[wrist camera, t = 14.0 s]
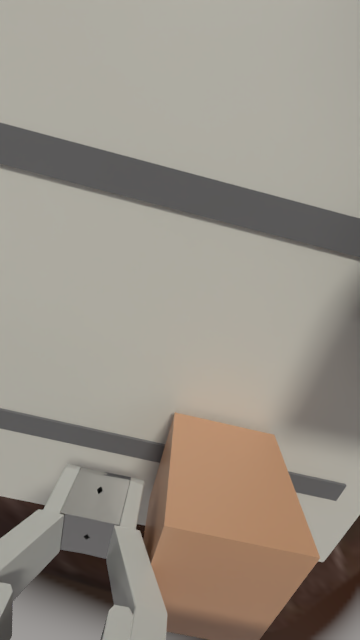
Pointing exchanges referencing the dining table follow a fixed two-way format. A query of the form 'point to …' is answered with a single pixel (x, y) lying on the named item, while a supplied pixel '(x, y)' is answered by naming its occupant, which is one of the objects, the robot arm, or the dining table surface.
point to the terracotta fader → (225, 531)
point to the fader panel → (180, 238)
